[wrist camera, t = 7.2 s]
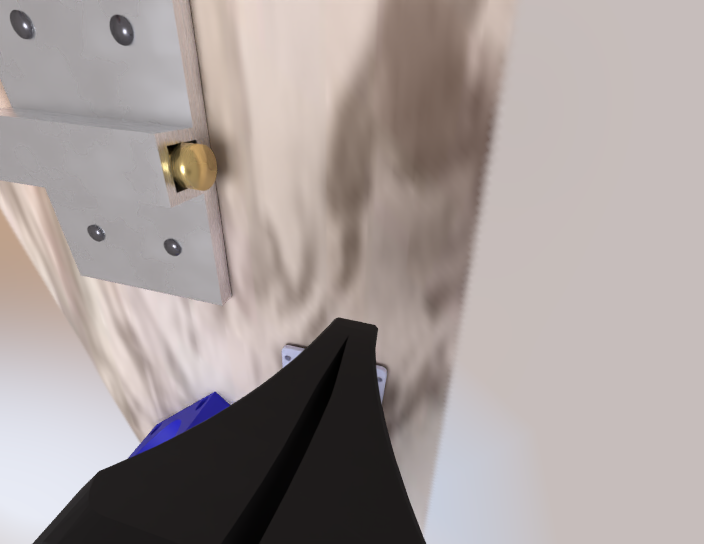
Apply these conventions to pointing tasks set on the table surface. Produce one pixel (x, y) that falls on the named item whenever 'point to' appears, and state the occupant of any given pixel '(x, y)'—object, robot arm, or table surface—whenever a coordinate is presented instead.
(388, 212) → the table surface
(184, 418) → the blue u-shaped cradle block
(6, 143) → the steel hinge
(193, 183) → the brass headed pin
